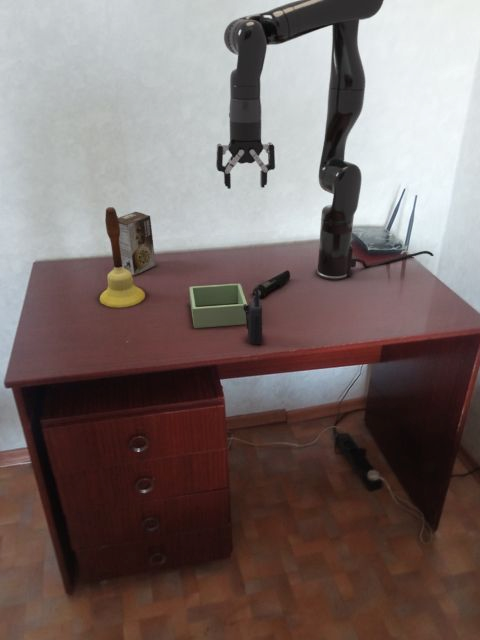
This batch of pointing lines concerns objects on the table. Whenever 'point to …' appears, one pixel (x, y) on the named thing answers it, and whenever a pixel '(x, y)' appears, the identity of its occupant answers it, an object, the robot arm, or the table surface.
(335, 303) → the table surface
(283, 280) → the electric trimmer
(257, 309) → the two-way radio
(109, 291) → the handbell
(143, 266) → the coffee box
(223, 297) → the square frame
